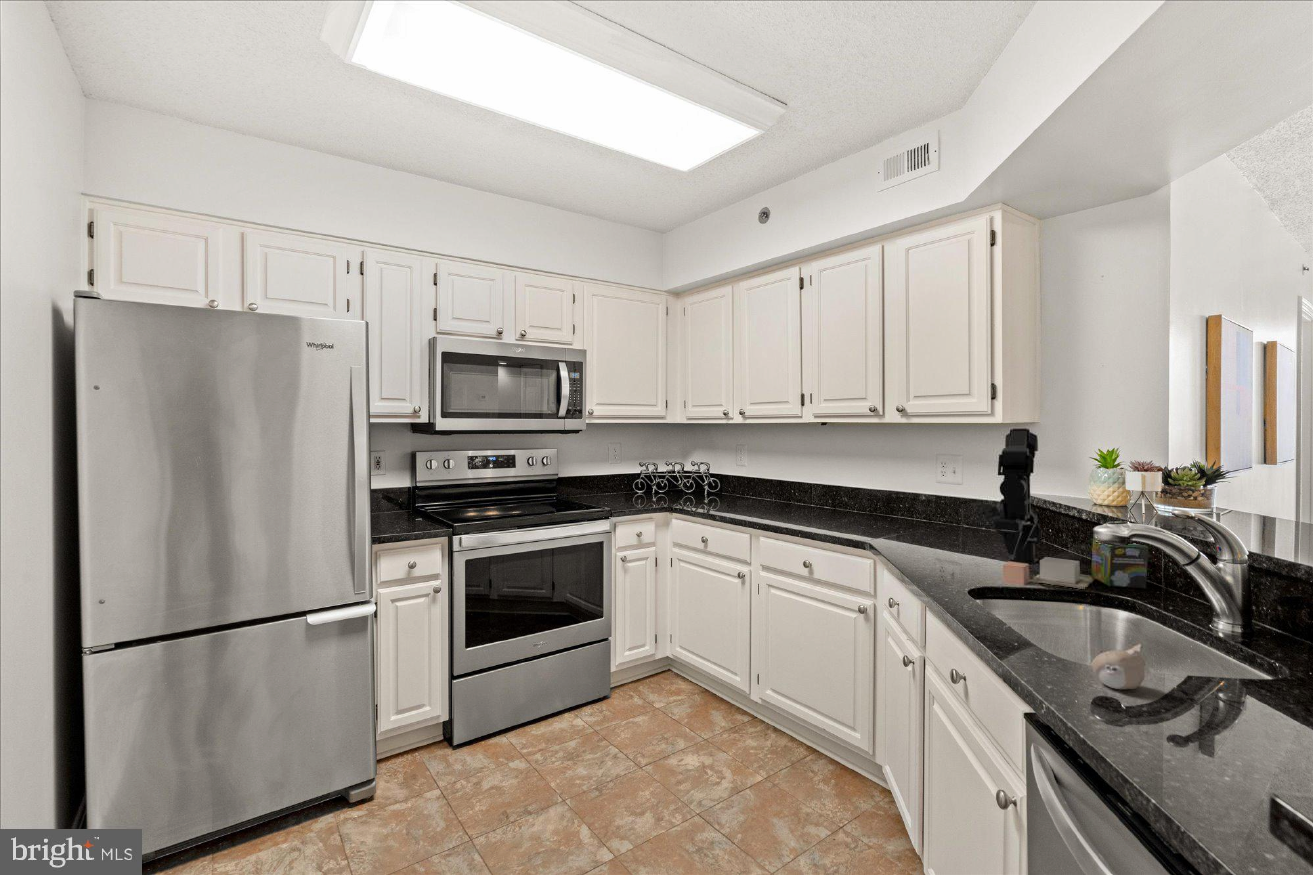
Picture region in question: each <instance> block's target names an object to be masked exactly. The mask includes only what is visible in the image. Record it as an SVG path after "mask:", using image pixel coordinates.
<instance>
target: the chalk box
mask: <svg viewBox="0 0 1313 875" xmlns="http://www.w3.org/2000/svg"><path fill="white" fill-rule="evenodd" d="M1145 545H1146V544H1145ZM1145 545H1141V544H1136V543H1133V544H1128V545H1124V546H1121V547H1116V546H1107V545H1100V544H1098V543H1096V542H1095V541H1094V537H1092V553H1091V575H1090V576H1091V577H1093V578H1095V580H1098V581H1099V582H1101V583H1103V584H1105V585H1107V587H1120V588H1121V587H1122V588H1123V587H1124V588H1134V589H1135V588H1136V589H1146V588H1147V574H1148V573H1147V572H1148V561H1149V560H1148V558H1149V547H1148V546H1149V545H1148V546H1145Z"/></svg>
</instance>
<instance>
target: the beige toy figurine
mask: <svg viewBox="0 0 1313 875" xmlns="http://www.w3.org/2000/svg"><path fill="white" fill-rule="evenodd" d="M1141 644H1142V643H1139V644H1136V645H1134V646H1132V648H1130V649H1125V650H1119V649H1117V650H1107V651H1104V652H1101V653H1099V654H1098V655H1097V656H1096V657H1095V658H1094V659H1093V660H1092V662H1091V669H1092V671H1093V674H1094V675H1095V678H1097V680H1099V682H1101V683H1102V684H1104V685H1106V686H1107V687H1109V688H1111V689H1116V690H1134V689H1137V688H1138V687H1140V686H1141V685H1142V684H1143V682H1144V679H1145V678H1146V677H1145V676H1146V675H1145V674H1146V673H1145V671H1146V670H1145V667H1146V666H1145V665H1146V662H1145V660H1144V658H1143V656H1141V655H1140V652H1141V650H1142V648H1143V645H1141Z"/></svg>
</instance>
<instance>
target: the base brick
mask: <svg viewBox="0 0 1313 875" xmlns="http://www.w3.org/2000/svg"><path fill="white" fill-rule="evenodd" d="M1080 567H1081V566H1080V560H1072V559H1067V558H1066V559H1065V558H1058V557H1056V558H1055V557H1048V556H1044V557H1043V558H1042V559H1040V560H1039V574H1040V579H1047V580H1054V581H1060V582H1067V583H1074V584H1075V583H1076V582H1077V581H1078V580H1079V579H1080V574H1081V573H1080V572H1081V570H1080V569H1081V568H1080Z"/></svg>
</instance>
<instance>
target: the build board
mask: <svg viewBox="0 0 1313 875" xmlns="http://www.w3.org/2000/svg"><path fill="white" fill-rule="evenodd" d="M1095 580H1096V579H1095V578H1093V577H1091V575H1088V574H1081V573H1080V579H1079V580H1078V581H1077V582H1076V583H1075V584H1074V583H1067V582H1060V581H1054V580H1047V579H1040V573H1039V574H1037V575H1036V576H1034V577H1033V578H1031V579H1030V583H1034V584H1039V583H1047V584H1051V585H1050V586H1052V585H1060V586H1065V587H1064V588H1066V587H1073V588H1078V589H1077V590H1079V589H1084V590H1085V589H1086V588H1088V587H1089V584H1090V583H1091V584H1092V583H1093V582H1094V581H1095ZM1091 584H1090V585H1091ZM1085 587H1086V588H1085Z"/></svg>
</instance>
